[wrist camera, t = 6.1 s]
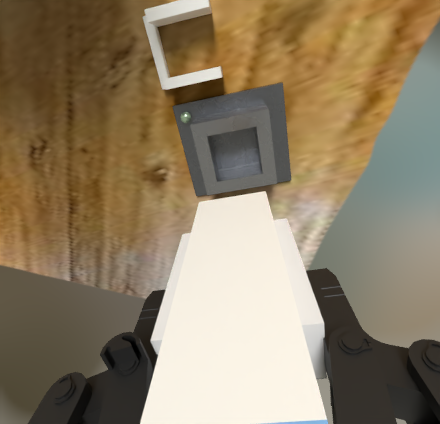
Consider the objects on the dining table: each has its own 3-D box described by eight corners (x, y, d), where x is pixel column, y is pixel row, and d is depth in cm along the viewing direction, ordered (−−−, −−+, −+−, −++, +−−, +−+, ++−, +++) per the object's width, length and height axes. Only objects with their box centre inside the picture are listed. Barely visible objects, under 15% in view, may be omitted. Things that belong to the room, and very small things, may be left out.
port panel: (173, 105, 34) (164, 112, 29) (281, 82, 32) (289, 85, 28) (196, 194, 39) (192, 211, 35) (290, 178, 38) (298, 194, 33)
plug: (199, 202, 17) (98, 581, 4) (265, 191, 16) (371, 584, 4) (212, 256, 18) (169, 638, 6) (273, 247, 18) (363, 646, 5)
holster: (145, 18, 30) (134, 12, 26) (210, 1, 29) (207, -7, 25) (164, 88, 33) (156, 91, 29) (222, 75, 32) (222, 77, 28)
